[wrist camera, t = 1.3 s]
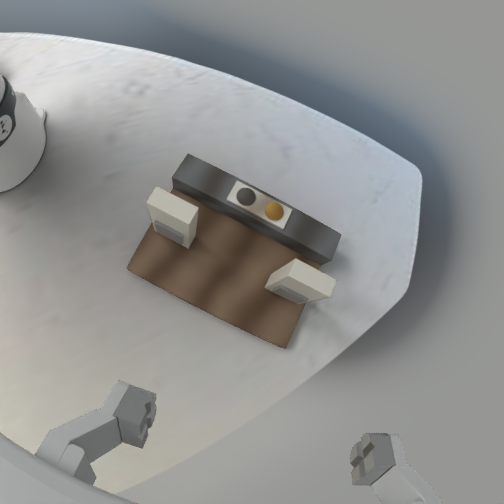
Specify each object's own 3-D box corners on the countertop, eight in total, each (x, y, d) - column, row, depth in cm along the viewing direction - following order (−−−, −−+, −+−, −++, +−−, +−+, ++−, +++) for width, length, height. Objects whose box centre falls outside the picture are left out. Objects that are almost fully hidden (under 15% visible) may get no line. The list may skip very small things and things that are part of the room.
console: (128, 270, 40) (120, 261, 34) (192, 163, 45) (193, 143, 40) (282, 347, 41) (295, 350, 36) (329, 235, 47) (346, 223, 41)
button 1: (263, 290, 41) (286, 279, 31) (270, 274, 42) (295, 258, 32) (296, 307, 41) (328, 300, 32) (303, 290, 42) (336, 280, 32)
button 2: (153, 233, 40) (144, 205, 30) (162, 218, 40) (156, 186, 31) (186, 251, 40) (187, 227, 30) (195, 235, 41) (198, 207, 31)
